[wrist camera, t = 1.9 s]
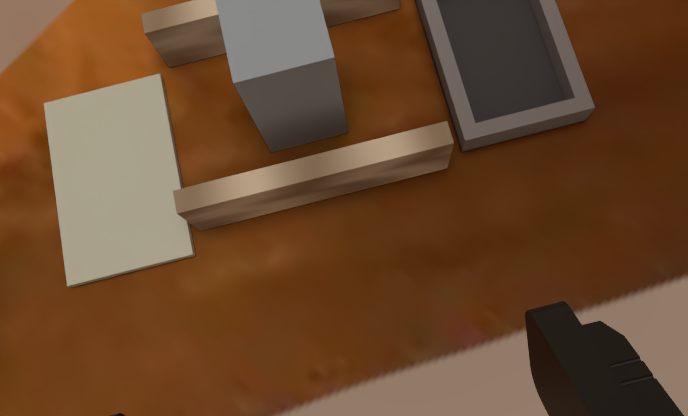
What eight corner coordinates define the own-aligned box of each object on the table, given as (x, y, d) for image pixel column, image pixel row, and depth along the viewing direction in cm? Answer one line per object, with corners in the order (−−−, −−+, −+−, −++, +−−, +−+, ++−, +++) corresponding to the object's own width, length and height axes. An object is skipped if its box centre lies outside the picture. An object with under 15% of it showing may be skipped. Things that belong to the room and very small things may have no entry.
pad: (162, 77, 38) (159, 73, 38) (195, 255, 35) (192, 254, 35) (48, 106, 38) (43, 103, 38) (71, 287, 35) (67, 285, 35)
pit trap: (529, -33, 38) (535, -52, 36) (585, 120, 36) (595, 107, 34) (413, -3, 38) (414, -21, 37) (461, 152, 36) (464, 140, 34)
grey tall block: (330, 62, 38) (311, -31, 29) (348, 133, 37) (334, 57, 28) (255, 81, 38) (213, -6, 29) (271, 152, 37) (233, 83, 28)
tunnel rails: (394, -9, 38) (394, -52, 35) (447, 168, 36) (453, 143, 32) (166, 50, 39) (141, 13, 35) (200, 231, 36) (176, 213, 32)
